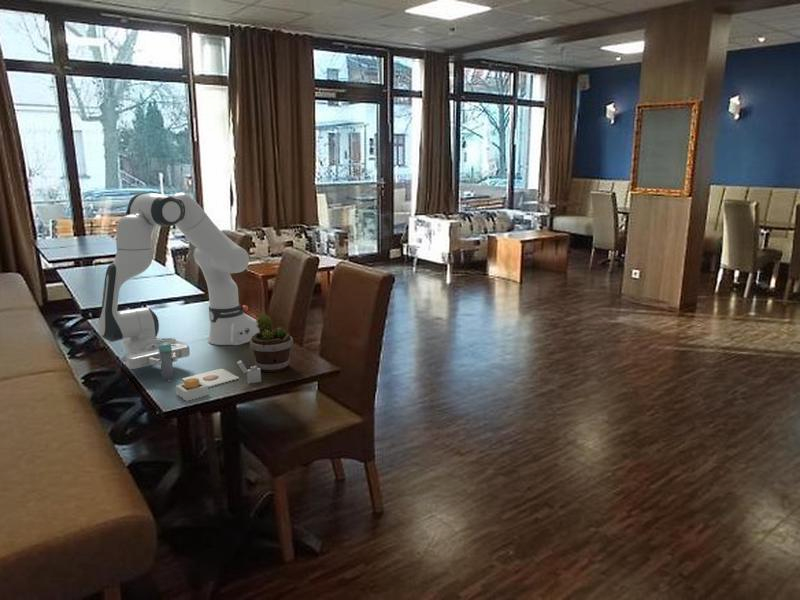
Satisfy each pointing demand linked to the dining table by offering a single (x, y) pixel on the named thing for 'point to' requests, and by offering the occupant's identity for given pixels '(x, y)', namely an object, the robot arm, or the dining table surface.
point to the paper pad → (214, 377)
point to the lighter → (251, 373)
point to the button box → (192, 391)
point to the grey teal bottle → (166, 361)
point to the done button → (191, 383)
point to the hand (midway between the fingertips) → (167, 361)
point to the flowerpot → (270, 346)
